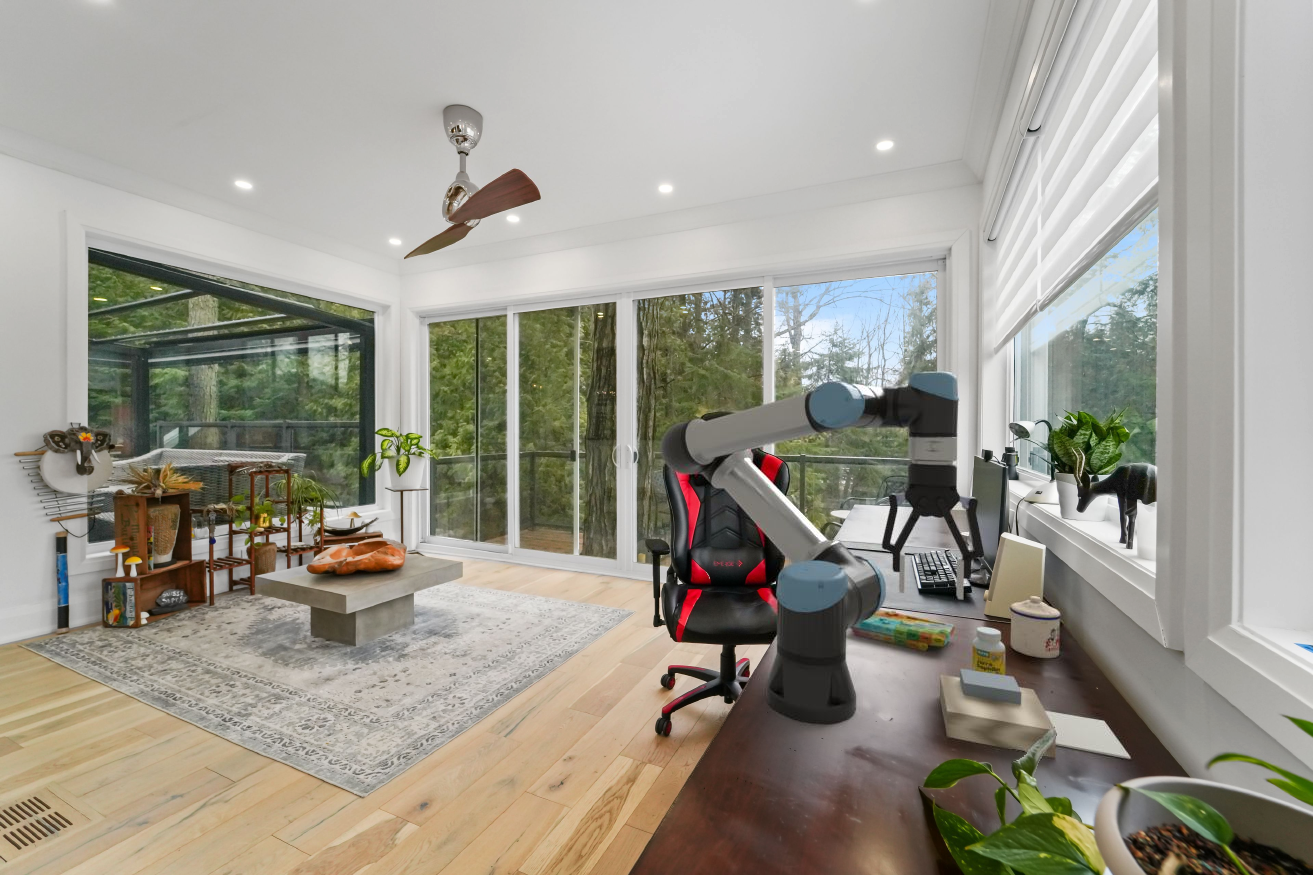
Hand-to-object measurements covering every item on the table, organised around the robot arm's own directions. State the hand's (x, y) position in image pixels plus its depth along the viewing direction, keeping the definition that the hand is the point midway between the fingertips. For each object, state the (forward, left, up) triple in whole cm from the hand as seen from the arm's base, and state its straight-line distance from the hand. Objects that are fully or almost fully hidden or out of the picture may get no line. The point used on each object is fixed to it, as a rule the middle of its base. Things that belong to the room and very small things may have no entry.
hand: (930, 593), depth 96 cm
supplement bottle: (+11, +15, -20) cm, 27 cm away
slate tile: (+9, 0, -15) cm, 18 cm away
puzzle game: (-4, +32, -20) cm, 38 cm away
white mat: (+21, -1, -19) cm, 29 cm away
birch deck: (+9, -3, -19) cm, 22 cm away
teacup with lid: (+23, +37, -20) cm, 48 cm away
